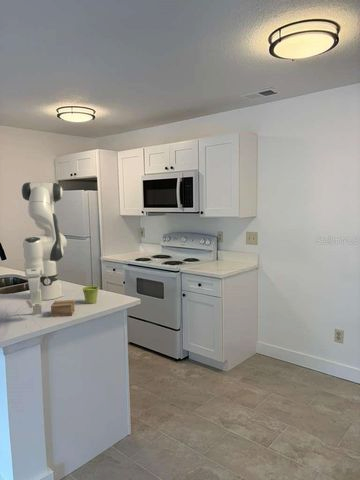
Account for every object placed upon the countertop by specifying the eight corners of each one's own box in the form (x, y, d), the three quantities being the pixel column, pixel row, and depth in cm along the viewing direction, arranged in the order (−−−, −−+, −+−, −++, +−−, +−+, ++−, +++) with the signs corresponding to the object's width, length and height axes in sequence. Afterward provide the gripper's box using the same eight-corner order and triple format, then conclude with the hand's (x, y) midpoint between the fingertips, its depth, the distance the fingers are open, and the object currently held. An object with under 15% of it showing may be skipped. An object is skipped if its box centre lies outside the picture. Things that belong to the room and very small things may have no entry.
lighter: (41, 312, 190) (40, 298, 189) (41, 313, 189) (40, 299, 188) (27, 314, 188) (26, 299, 187) (27, 315, 186) (26, 300, 185)
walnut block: (55, 311, 193) (54, 300, 192) (74, 310, 194) (74, 299, 193) (51, 317, 183) (50, 306, 182) (71, 316, 184) (71, 304, 184)
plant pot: (90, 299, 215) (90, 285, 214) (102, 301, 210) (102, 287, 210) (79, 303, 207) (78, 288, 206) (91, 305, 202) (90, 290, 202)
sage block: (31, 301, 181) (31, 289, 180) (41, 300, 182) (40, 288, 182) (31, 303, 177) (30, 291, 176) (40, 302, 178) (40, 291, 177)
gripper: (29, 266, 187) (30, 292, 188) (25, 274, 167) (27, 303, 169) (42, 266, 189) (43, 291, 190) (40, 273, 169) (41, 302, 171)
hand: (36, 297), depth 179 cm, fingers closed on sage block, 4 cm apart
